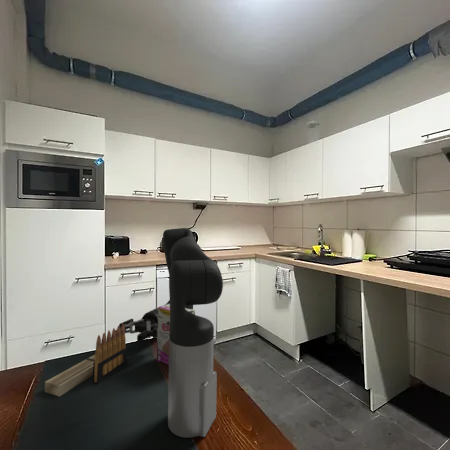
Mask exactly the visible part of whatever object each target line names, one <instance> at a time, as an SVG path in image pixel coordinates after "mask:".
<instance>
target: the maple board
mask: <svg viewBox="0 0 450 450" xmlns="http://www.w3.org/2000/svg"><path fill="white" fill-rule="evenodd" d="M94 362H95V354H93V355H92V356H89V357H87V358H86V359H84V360H82V361H80V362H79V363H77V364H75V365H73V366H71V367H69V368H68V369H65V370H64V371H62V372H61V373H59V374H57V375H55V376H53V377H51V378H50V379H47V380H45V381H44V393H47V394H50V395H53V396H56V397H61V396H63V395H65V394H66V393H68V392H69V391H70V390H72V389H74V388H76V387H78V385H80V384H82V383H84V382H85V381H86V380H88V379H90V378H91V377H93V363H94Z"/></svg>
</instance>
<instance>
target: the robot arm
mask: <svg viewBox="0 0 450 450" xmlns="http://www.w3.org/2000/svg"><path fill="white" fill-rule="evenodd" d="M162 245H163V251H164V258H165V262H166V266H167V271H168V272H167V273H168V289H169V290H168V292H169V294H168V295H169V299H168V301H167V302H166V303H165V304H164V305H167V304H170V333H169V366H168V388H167V390H168V392H167V394H168V395H167V403H168V404H167V406H168V407H167V426H168V428H169V430H170V432H171V433H172V434H174V435H175V436H177V437H181V438H187V439H188V438H189V439H190V438H196V437H202V438H205V437H206V435H207V433H208V432H209V430H210V428H211V426H212V424H213V423H214V421H215V419H216V418H217V377H218V376H217V374H218V373H217V371H216V370H214V341H215V339H214V337H215V332H214V331H215V330H214V329H215V328H214V323H213V322H212V321H211V320H210V319H208V318H206V317H203V316H200V315H197V314H195V315H194V314H192V313H190V312H188V311H187V310H186V309H185V308H188V309H192V310H194V306H199V305H208V304H209V305H210V304H213V303H216V302H217V301H218V300H219V299H220V298H221V296H222V294H223V289H224V280H223V276H222V272H221V269H220V267H219V265H218V264H217V263H216V262H215V261H214V260H213V259H212V258H210V257H209V256H208V255H206V253H204V251H203V250H202V248H201V246H200V245H199V244H198V243H197V241H196V239H195V237H194V233H193V232H192V230H191V229H190V228H187V227H180V228H179V227H178V228H169V229H165V230H164V231H163V233H162ZM157 322H158V307H156V308H154V309H152V310H149V311H147V312H145V313H144V314H143V315H142V317H141V318H140V319H138V320H134V318H130V319H127V320H125V321H123V322H121V323H119V324H118V326H119V327H120V332H121V327H122V324H124V327H125V334H128V333H129V334H131V335H132V334H136V333H139V334H137V335H136V336H137V337H136V342H137V343H141V342H143V341H145V340H147V339H150V338H153V339H157ZM133 328H134V330H133ZM115 331H117V329H115Z"/></svg>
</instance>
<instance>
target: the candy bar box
mask: <svg viewBox="0 0 450 450" xmlns="http://www.w3.org/2000/svg"><path fill="white" fill-rule="evenodd" d="M157 308H158V322H157V338H156V361H157V362H159V363H160V364H163V365H166V366H168V367H169V333H170V304H167V305H165V304H163V305H159V306H158V307H157ZM185 309H186V310H187V311H188V312H190V313H192V314H194V315H196V310H195V309H193V310H192V309H188V308H185Z"/></svg>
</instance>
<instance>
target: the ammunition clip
mask: <svg viewBox="0 0 450 450" xmlns="http://www.w3.org/2000/svg"><path fill="white" fill-rule="evenodd" d="M115 330H117V331H115ZM101 337H102V338H101ZM96 338H97V339H96V344H95V351H94V355H95V362H94V363H93V376H92V383H93V384H100V383H102V382H103V381H105V380H106V379H108V378H109V377H110V376H112V375H113V374H115V373H117V372H118V371H119V370H121V369H122V368H123V367H125V366H126V365H127V364H128V362H127V361H128V360H127V359H128V354H127V349H128V347H127V346H126V342H127V341H126V333H125V327H124V324H122V327H121V332H120V327H119V325H118V326H117V328H116V329H115V327H113V328H112V331H110V330H108V331H107V334H106V333H105V332H103V333H102V336H101V335H100V334H98V335H97V337H96Z"/></svg>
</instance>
